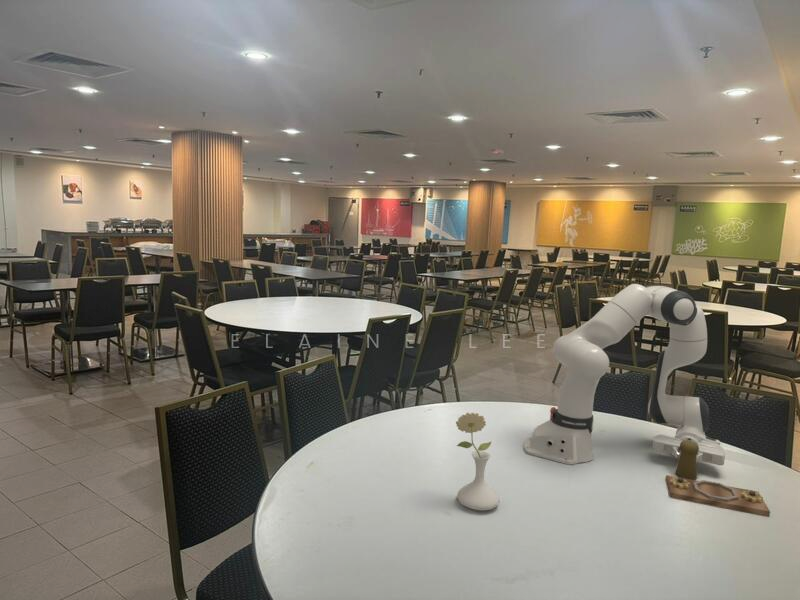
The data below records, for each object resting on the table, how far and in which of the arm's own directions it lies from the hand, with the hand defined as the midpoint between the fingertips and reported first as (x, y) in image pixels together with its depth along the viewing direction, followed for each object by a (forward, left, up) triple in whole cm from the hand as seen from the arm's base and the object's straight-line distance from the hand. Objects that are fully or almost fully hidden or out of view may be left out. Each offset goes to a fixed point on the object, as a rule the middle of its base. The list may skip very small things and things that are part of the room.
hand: (686, 458), depth 165 cm
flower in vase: (-56, -44, -6) cm, 71 cm away
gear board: (+6, -11, -6) cm, 14 cm away
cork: (0, +1, -6) cm, 6 cm away
